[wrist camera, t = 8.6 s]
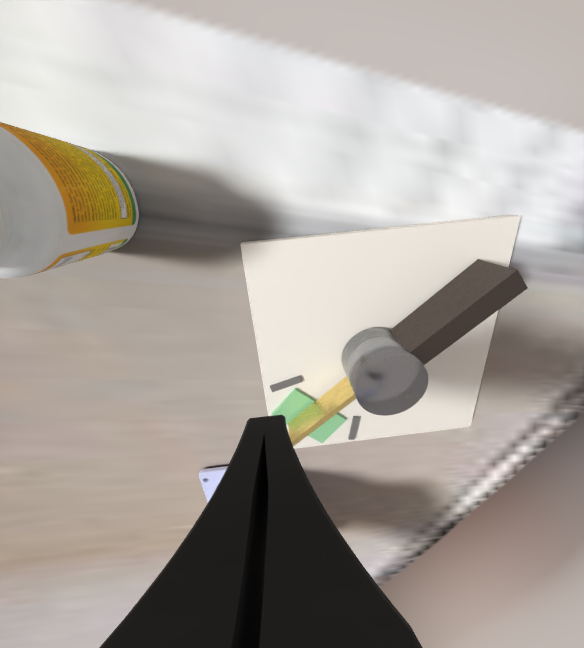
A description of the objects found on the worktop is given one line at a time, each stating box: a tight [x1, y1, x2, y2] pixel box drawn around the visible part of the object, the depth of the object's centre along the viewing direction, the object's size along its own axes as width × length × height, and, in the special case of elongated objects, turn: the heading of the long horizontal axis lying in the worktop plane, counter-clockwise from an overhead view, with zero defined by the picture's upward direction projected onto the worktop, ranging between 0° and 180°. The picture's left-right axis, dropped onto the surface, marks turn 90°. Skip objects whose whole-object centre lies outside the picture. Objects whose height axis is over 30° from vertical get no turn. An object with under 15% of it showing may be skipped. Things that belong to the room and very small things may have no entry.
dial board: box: [240, 215, 521, 449], centre depth 20 cm, size 17×17×1 cm
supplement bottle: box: [0, 122, 139, 279], centre depth 11 cm, size 5×5×10 cm
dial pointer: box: [288, 259, 527, 446], centre depth 18 cm, size 17×4×4 cm, turn 134°
